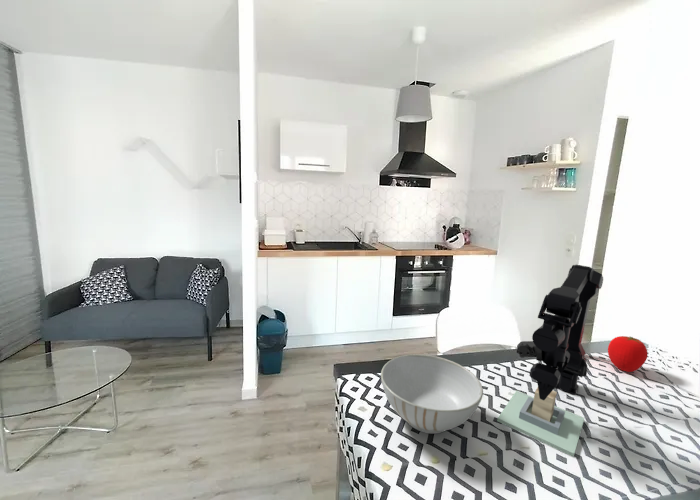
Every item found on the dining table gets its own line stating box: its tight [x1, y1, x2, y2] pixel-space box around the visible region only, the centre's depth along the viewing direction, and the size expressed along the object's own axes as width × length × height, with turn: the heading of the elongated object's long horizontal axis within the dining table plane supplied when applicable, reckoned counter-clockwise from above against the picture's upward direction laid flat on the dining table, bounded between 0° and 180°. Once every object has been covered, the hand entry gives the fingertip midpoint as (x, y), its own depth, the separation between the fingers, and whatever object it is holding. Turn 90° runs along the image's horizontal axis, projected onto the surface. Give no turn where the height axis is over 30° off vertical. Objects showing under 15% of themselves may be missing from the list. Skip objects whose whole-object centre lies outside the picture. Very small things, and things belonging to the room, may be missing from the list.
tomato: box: [607, 335, 648, 373], centre depth 124 cm, size 11×11×13 cm
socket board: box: [497, 390, 585, 458], centre depth 94 cm, size 18×18×3 cm
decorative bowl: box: [380, 353, 484, 434], centre depth 92 cm, size 27×27×12 cm
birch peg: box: [531, 387, 558, 422], centre depth 93 cm, size 4×4×8 cm
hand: (545, 392), depth 92 cm, fingers open, 9 cm apart
